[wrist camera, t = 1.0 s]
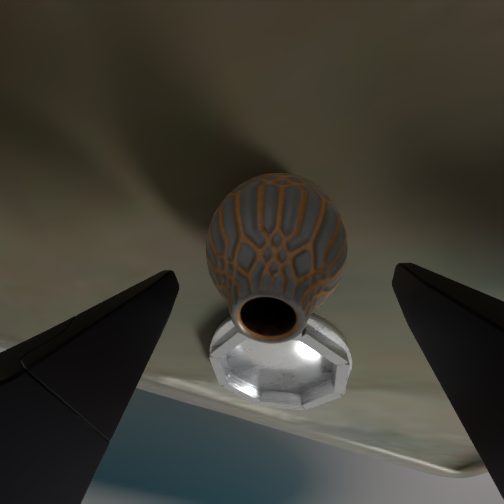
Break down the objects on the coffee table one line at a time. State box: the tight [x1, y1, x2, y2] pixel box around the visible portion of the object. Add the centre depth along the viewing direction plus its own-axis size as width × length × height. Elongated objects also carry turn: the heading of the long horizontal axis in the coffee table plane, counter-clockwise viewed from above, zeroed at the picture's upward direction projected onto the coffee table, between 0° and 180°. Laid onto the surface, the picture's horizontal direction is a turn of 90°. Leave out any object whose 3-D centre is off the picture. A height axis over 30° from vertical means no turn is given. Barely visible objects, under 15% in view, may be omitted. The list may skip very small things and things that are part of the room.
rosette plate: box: [209, 313, 352, 410], centre depth 20 cm, size 14×14×2 cm
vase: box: [206, 173, 347, 344], centre depth 10 cm, size 7×7×9 cm
